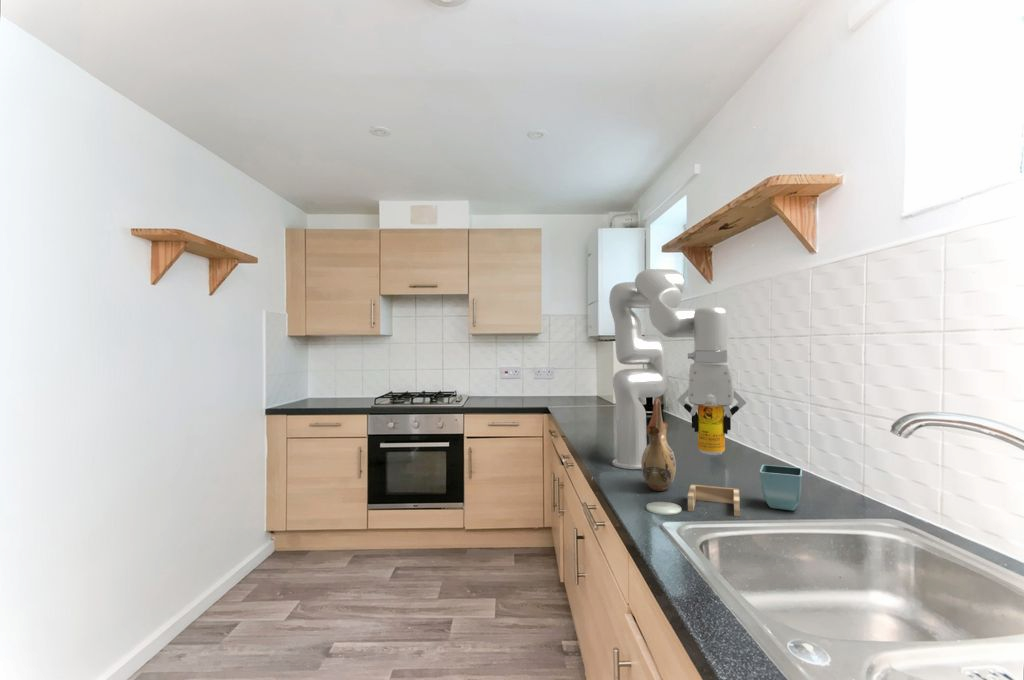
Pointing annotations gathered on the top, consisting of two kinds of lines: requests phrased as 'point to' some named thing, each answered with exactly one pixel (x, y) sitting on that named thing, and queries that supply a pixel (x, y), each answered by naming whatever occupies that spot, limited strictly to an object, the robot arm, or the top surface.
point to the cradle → (714, 496)
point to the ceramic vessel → (658, 453)
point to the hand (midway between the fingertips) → (711, 431)
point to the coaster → (664, 508)
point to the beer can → (711, 427)
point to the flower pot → (781, 486)
